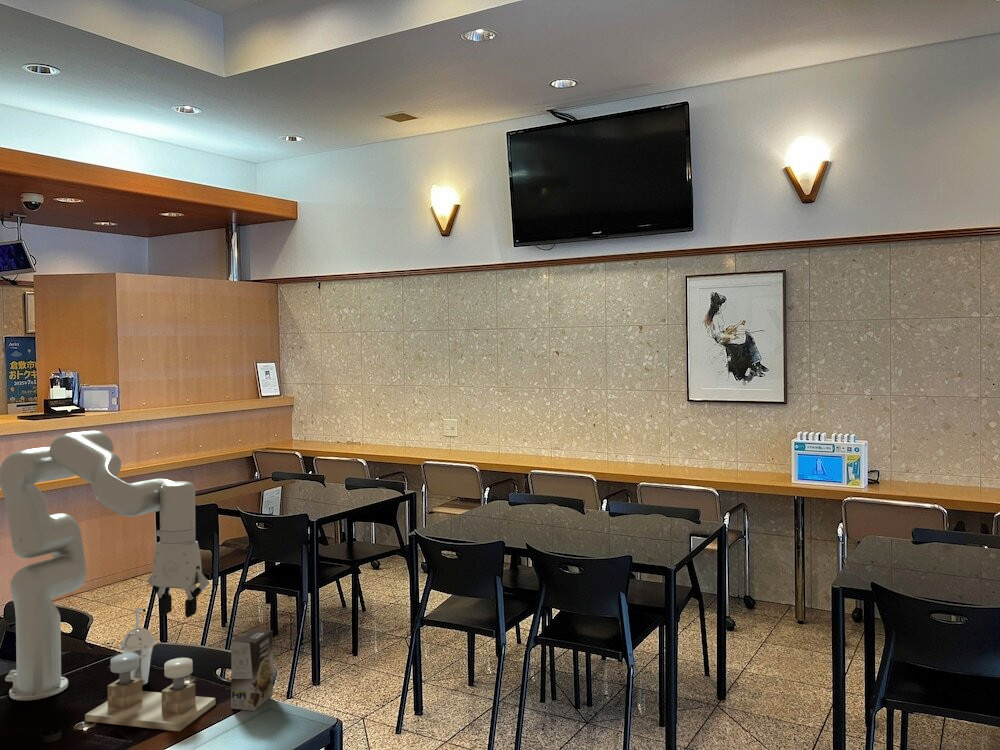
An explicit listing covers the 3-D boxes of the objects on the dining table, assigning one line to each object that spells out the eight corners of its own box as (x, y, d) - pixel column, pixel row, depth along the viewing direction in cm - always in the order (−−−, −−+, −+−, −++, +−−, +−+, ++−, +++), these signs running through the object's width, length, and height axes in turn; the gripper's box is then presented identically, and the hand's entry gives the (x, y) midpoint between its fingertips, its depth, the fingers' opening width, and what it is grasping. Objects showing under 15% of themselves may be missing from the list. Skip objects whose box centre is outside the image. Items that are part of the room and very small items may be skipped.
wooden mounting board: (85, 721, 178) (84, 692, 178) (126, 695, 192) (126, 668, 192) (179, 731, 173) (179, 702, 173) (215, 704, 187) (215, 677, 187)
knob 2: (158, 699, 179) (158, 666, 179) (175, 688, 185) (174, 656, 185) (182, 701, 178) (182, 668, 177) (198, 690, 183) (197, 658, 183)
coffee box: (255, 711, 183) (255, 642, 183) (230, 709, 185) (229, 640, 184) (274, 695, 192) (274, 629, 192) (250, 693, 193) (249, 627, 193)
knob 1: (104, 693, 182) (104, 661, 182) (122, 683, 188) (122, 652, 187) (127, 696, 180) (127, 663, 180) (144, 685, 186) (144, 654, 186)
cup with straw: (158, 674, 205) (158, 598, 204) (153, 688, 196) (153, 608, 196) (123, 678, 202) (122, 600, 202) (116, 692, 194) (115, 611, 193)
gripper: (134, 538, 179) (134, 617, 179) (202, 541, 175) (202, 622, 175) (155, 531, 186) (155, 607, 186) (220, 534, 182) (221, 612, 183)
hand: (178, 613), depth 181 cm, fingers open, 5 cm apart
